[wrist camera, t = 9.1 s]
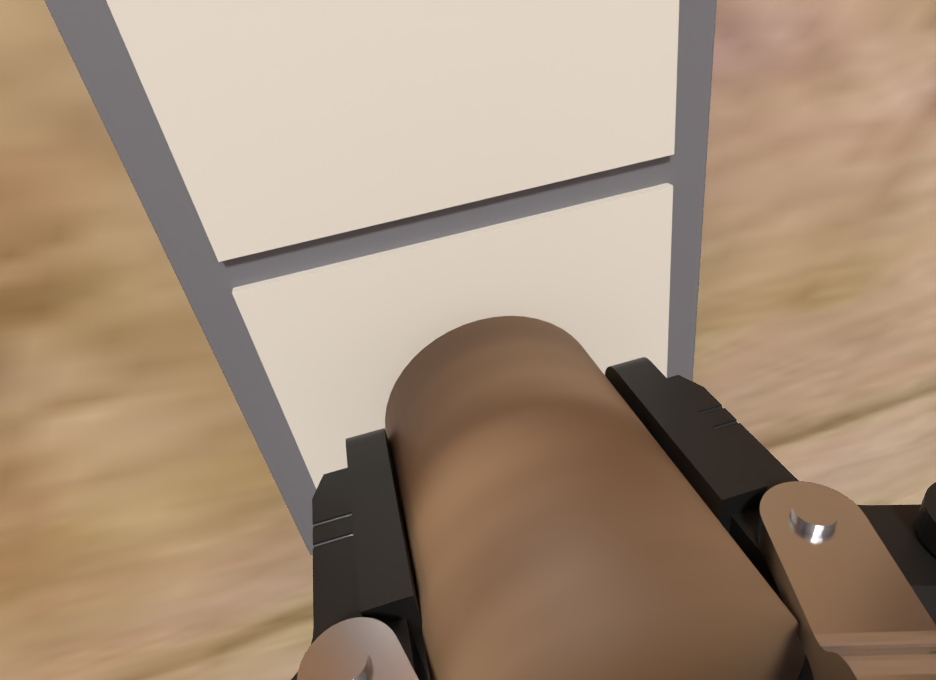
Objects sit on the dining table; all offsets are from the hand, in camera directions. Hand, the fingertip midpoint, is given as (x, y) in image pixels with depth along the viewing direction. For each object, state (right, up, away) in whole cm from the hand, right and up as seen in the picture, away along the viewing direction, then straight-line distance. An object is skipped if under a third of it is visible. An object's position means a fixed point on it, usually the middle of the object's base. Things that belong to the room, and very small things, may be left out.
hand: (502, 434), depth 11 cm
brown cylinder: (0, 0, +1) cm, 1 cm away
